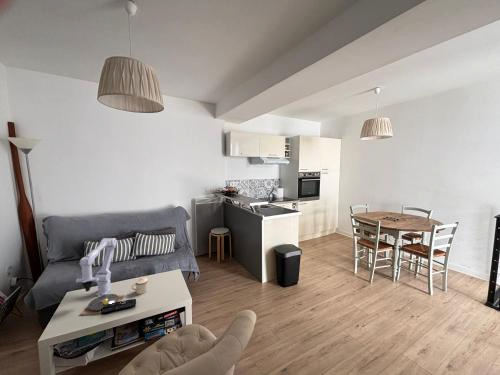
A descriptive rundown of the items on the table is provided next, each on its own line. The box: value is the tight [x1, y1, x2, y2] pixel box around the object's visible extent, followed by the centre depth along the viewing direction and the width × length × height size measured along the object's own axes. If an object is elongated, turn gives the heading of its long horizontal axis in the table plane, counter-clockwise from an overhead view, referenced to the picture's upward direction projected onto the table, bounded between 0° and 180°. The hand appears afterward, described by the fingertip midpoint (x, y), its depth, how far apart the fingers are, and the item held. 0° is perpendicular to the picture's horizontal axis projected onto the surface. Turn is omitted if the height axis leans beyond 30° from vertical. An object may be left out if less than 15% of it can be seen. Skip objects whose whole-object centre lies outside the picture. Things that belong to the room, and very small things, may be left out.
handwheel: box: [87, 293, 118, 311], centre depth 152 cm, size 18×18×6 cm
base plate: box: [79, 294, 126, 317], centre depth 152 cm, size 20×20×1 cm
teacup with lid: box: [131, 277, 149, 295], centre depth 169 cm, size 12×9×12 cm
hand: (88, 290), depth 153 cm, fingers closed
